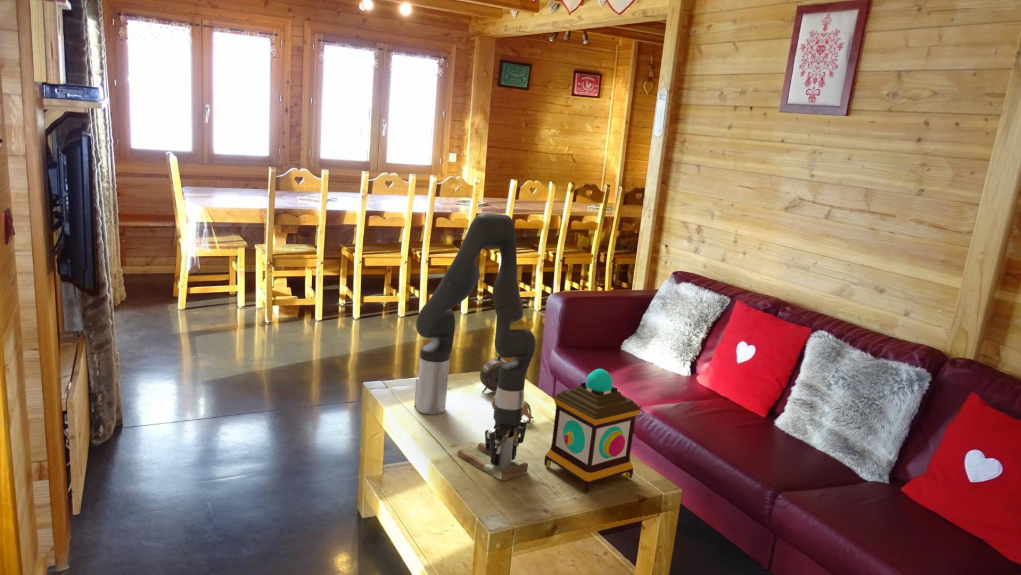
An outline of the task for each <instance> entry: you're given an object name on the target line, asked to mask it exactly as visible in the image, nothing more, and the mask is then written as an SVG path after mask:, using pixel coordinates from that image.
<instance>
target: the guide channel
mask: <svg viewBox="0 0 1021 575" xmlns="http://www.w3.org/2000/svg"><path fill="white" fill-rule="evenodd" d="M477 445H478V446H477V449H478V450H480V451H482V452H484V453H485V454H486V455H489V456H491V452H489V451H487V450H486V447H485V443H483V442H478V444H477ZM457 456H458V457H460V458H462V459H463V460H464V461H466V462H468V463H470V464H472V465H473V466H476V467H477V468H479V469H480V470H483V471H484V472H486V473H488V474H489V475H491V476H493V477H495V478H497V479H498V480H501V481H502V482H507V481H509V480H512V479H514V478H515V477H518V476H522V475H524V474H526V473H528V467H529V463H528V462H525V461H524V462H522V463H521V462H520V461H517V460H516V459H514V460H511V468H509V469H507V470H504V471H502V472H501V471H499V470H498V469H496V468H494V466H492V465H490V464H489V463H487V462H485V461H484V460H481V459H479V458H478V457H476V456H474V455H473V454H471V453H469V452H467V451H464V449H458V450H457Z"/></svg>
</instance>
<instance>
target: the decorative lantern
mask: <svg viewBox="0 0 1021 575" xmlns="http://www.w3.org/2000/svg"><path fill="white" fill-rule="evenodd" d="M613 383H614V382H613V377H612V376H611V375H610V373H609V372H608V371H607V370H605V369H603V368H597V369H594V370H593V371H592V372H590V373H589V374H588V376H586V381H585V382H581V383H580V385H578V386H576V387H573V388H569V389H564V390H562V391H561V392H557V393H556V395H553V397H552V398H553V401H554V403H555V415H554V421H553V432H552V438H551V439H552V440H551V447H550V448H549V449H548V451H547V452H546V454H545V456H544V462H543V463H544V467H546V468H549V467H551V464H552V463H553V464H555V465H556V466H558V467H559V468H561V469H563V470H564V471H565V472H567V473H569V474H570V475H572V476H574V477H575V478H577V479H578V480H580V481H581V482H582V483H583V492H584V493H585V494H587V493H589V491H590V489H591V486H592V485H593V484H594V483H596V482H597V483H598V482H600V481H603V480H606V479H610V478H613V477H616V476H620V475H623V474H625V478H631V479H632V478H633V475H634V468H633V463H632V461H631V457H630V456H631V450H632V443H633V437H634V431H635V424H636V423H635V422H636V418H637V416H638V415H639V413H640V411H641V410H642V409H641V407H640V406H639V404H637V403H636V402H635V401H634V400H633V399H631V398H629V397H627V396H625V395H624V394H623V395H622V393H621V392H620V391H619V390H618V388H617V387H615V386H613V385H614V384H613Z"/></svg>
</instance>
